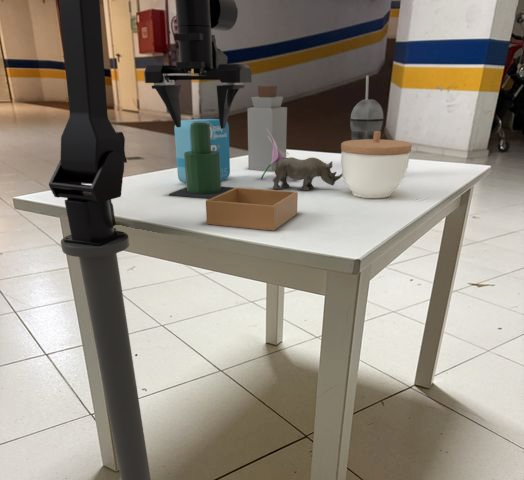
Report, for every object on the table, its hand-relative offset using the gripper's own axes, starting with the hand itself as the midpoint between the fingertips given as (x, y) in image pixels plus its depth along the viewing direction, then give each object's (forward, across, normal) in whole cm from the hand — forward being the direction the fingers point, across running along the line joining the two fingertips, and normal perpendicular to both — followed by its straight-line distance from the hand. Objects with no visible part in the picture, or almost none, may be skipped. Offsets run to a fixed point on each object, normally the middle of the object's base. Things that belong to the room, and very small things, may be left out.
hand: (200, 127), depth 91 cm
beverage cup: (+12, -25, -30) cm, 41 cm away
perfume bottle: (+12, -1, -32) cm, 34 cm away
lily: (+12, -9, -19) cm, 24 cm away
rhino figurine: (+12, -18, -10) cm, 24 cm away
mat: (+12, 0, 0) cm, 12 cm away
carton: (+12, -17, +16) cm, 26 cm away
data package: (+12, +5, -10) cm, 16 cm away
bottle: (+11, 0, 0) cm, 11 cm away
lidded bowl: (+12, -31, -9) cm, 34 cm away
